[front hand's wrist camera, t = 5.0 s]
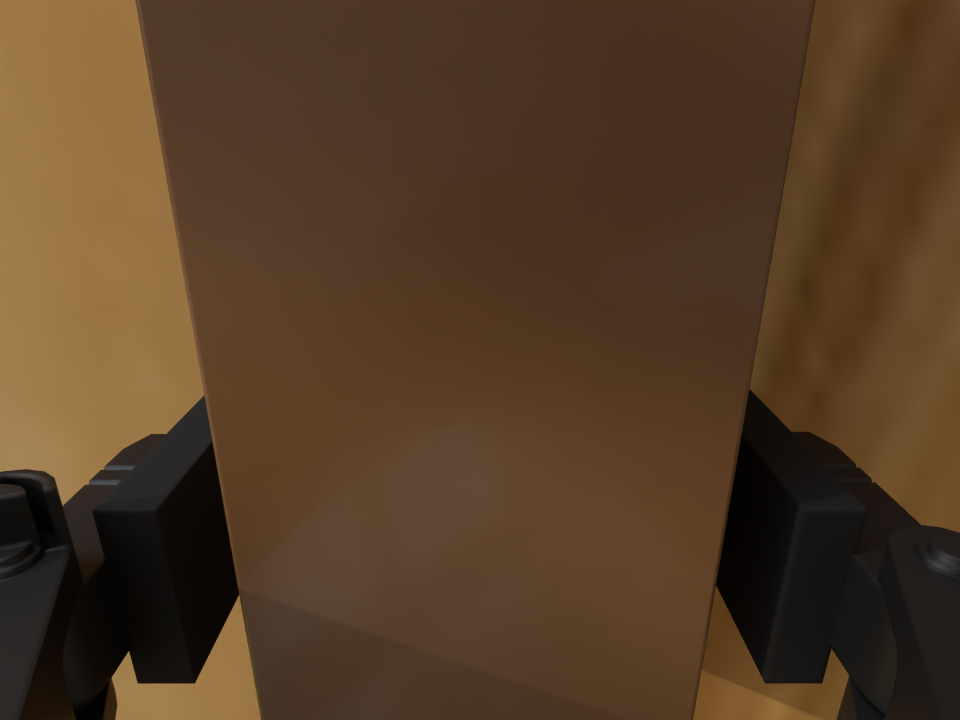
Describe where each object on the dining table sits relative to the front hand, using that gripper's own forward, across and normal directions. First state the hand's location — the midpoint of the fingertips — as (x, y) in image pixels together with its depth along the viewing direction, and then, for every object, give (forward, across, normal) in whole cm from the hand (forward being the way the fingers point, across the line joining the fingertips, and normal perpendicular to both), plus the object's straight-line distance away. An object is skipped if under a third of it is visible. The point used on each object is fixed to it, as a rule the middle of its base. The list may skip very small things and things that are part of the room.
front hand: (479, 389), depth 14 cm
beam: (+1, 0, -38) cm, 38 cm away
